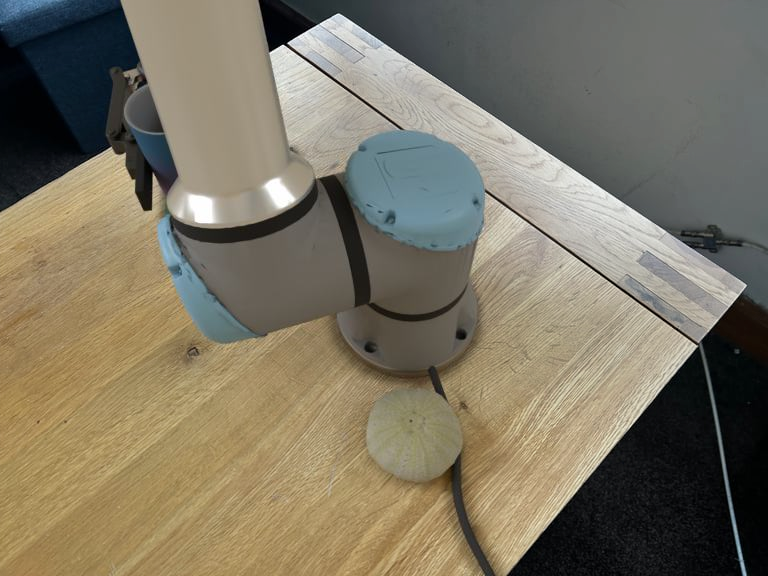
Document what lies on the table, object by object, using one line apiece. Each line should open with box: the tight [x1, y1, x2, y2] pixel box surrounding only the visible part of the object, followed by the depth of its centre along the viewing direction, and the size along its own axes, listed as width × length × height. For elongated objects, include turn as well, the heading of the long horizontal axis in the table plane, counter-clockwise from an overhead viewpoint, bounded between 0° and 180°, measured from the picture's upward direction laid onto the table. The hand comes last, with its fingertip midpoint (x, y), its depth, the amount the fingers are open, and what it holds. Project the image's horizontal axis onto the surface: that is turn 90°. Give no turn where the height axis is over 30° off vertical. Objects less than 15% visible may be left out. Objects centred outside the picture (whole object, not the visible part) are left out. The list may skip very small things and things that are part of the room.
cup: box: [124, 84, 178, 199], centre depth 63 cm, size 7×7×15 cm
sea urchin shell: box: [365, 387, 464, 484], centre depth 63 cm, size 9×8×8 cm
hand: (181, 196), depth 59 cm, fingers closed on cup, 6 cm apart
